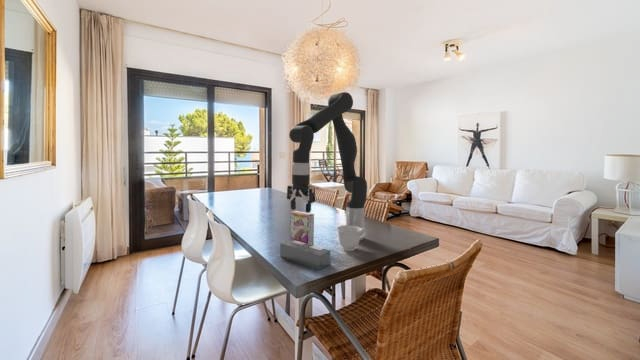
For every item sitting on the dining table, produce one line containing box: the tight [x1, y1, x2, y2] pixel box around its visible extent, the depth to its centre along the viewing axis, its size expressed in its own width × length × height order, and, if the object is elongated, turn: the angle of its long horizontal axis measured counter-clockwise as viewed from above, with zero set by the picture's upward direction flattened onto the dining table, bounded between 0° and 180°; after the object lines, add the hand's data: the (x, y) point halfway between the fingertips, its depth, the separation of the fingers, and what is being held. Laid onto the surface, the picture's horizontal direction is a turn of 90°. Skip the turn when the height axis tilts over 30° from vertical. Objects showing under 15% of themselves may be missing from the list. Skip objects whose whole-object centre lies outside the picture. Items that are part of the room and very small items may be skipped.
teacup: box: [336, 224, 368, 252], centre depth 133 cm, size 12×15×10 cm
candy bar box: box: [290, 210, 315, 246], centre depth 136 cm, size 11×5×16 cm, turn 55°
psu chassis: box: [279, 238, 331, 271], centre depth 119 cm, size 7×22×6 cm, turn 52°
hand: (300, 210), depth 121 cm, fingers open, 8 cm apart
